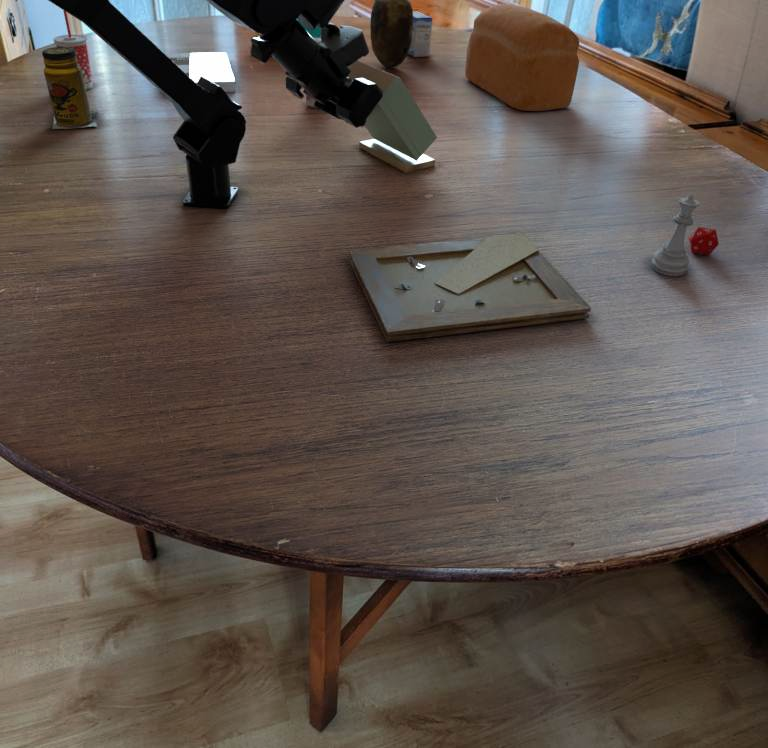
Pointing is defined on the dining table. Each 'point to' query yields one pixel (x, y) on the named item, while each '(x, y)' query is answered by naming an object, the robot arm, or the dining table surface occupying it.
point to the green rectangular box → (395, 113)
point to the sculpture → (391, 31)
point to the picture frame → (463, 287)
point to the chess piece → (676, 242)
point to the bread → (523, 58)
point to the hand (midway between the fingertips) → (363, 123)
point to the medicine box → (420, 35)
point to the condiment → (67, 89)
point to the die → (703, 241)
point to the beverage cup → (77, 51)
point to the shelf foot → (396, 156)
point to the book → (206, 68)
